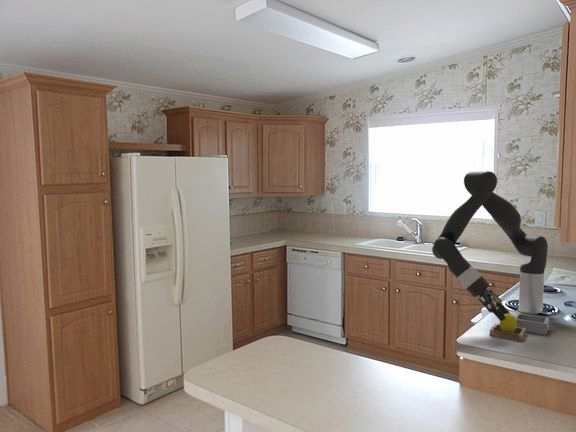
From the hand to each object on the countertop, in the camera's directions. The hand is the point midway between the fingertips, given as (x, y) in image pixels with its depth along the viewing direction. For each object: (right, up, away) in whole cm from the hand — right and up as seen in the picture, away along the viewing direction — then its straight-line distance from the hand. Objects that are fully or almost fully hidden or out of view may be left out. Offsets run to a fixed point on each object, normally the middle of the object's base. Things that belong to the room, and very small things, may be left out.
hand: (505, 317), depth 164 cm
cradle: (+1, -6, 0) cm, 6 cm away
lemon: (+1, -7, 0) cm, 7 cm away
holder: (+13, -6, +8) cm, 17 cm away
